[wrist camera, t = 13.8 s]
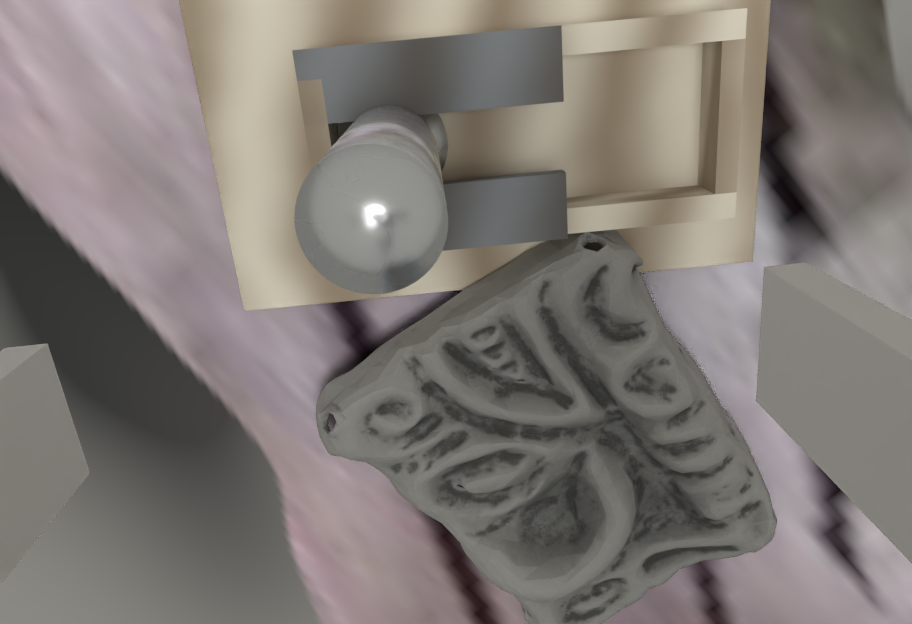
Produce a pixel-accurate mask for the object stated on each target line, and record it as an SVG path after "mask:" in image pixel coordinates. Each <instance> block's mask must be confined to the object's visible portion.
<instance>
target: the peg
mask: <svg viewBox="0 0 912 624" xmlns="http://www.w3.org/2000/svg"><path fill="white" fill-rule="evenodd" d="M447 151H448V141H447V134H446V131H445V127H444V124H443V122H442V119H441V117H440V115H439V114H427V115H417V114H416V113H414V112H413V111H411V110H409V109H406V108H403V107H399V106H393V105H385V106H379V107H375V108H372V109H370V110H368V111H366V112H365V113H363V114H361V115H360V116H359V117H358V118H357V119H356V120H355V121H353V122H342V123H341V126H340V129H339V134H338V140H337V142H336V143H335V144H334V145H333V146H332V147H331V148H330V150H329V151H328V152H327V153H326V154H325V155H324V157H323V158H322V159H321V160H320V161H319V162H318V163H317V165H316V166H315V167H314V168H313V169H312V170H311V171H310V173H309V174H308V176H307V177H306V178H305V180H304V182H303V184H302V186H301V188H300V190H299V193H298V196H297V199H296V205H295V215H294V221H295V230H296V234H297V238H298V241H299V244H300V246H301V249H302V251H303V252H304V254H305V256H306V258H307V259H308V260H309V262H310V263H311V265H312V266H313V267H314V268H315V269H316V270H317V271H318V272H319V273H320V274H321V275H322V276H323V277H325V278H326V279H327V280H329V281H330V282H332V283H333V284H335V285H337V286H339V287H341V288H344V289H347V290H349V291H353V292H357V293H362V294H385V293H391V292H394V291H398V290H401V289H403V288H405V287H408V286H410V285H411V284H413V283H415V282H416V281H418V280H419V279H420V278H422V277H423V276H424V275H425V274H426V273H427V272H428V271H429V270H430V269H431V268H432V267H433V265H434V264H435V263H436V261H437V260H438V258H439V256H440V254H441V252H442V250H443V247H444V245H445V241H446V237H447V232H448V212H447V205H446V199H445V192H444V186H443V179H442V173H441V172H442V170H443V168H444V165H445V162H446V158H447Z"/></svg>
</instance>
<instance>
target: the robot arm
mask: <svg viewBox="0 0 912 624" xmlns="http://www.w3.org/2000/svg"><path fill="white" fill-rule="evenodd" d="M756 401H757V402H758V403H759V404H760V405H761V406H762V408H763V409H764V410H765V411H766V412H767V413H768V414H769V415H770V416H771V417H772V418H773V419H774V420H775V421H776V422H777V423H778V424H779V425H780V426H781V427H782V428H783V429H784V430H785V432H786V433H787V434H788V435H789V436H790V437H791V438H792V439H793V440H794V441H795V442H796V443H797V444H798V445H799V446H800V447H801V448H802V449H803V450H804V451H805V452H806V453H807V455H808V456H809V457H810V458H811V459H812V460H813V461H814V462H815V463H816V464H817V465H818V466H819V467H820V468H821V469H822V470H823V471H824V472H825V473H826V474H827V475H828V476H829V477H830V479H831V480H832V481H833V482H834V483H835V484H836V485H837V486H838V487H839V488H840V489H841V490H842V491H843V492H844V493H845V494H846V495H847V496H848V497H849V498H850V499H851V500H852V502H853V503H854V504H855V505H856V506H857V507H858V508H859V509H860V510H861V511H862V512H863V513H864V514H865V515H866V516H867V517H868V518H869V519H870V520H871V521H872V522H873V523H874V524H875V526H876V527H877V528H878V529H879V530H880V531H881V532H882V533H883V534H884V535H885V536H886V537H887V538H888V539H889V540H890V541H891V542H892V543H893V544H894V545H895V546H896V547H897V549H898V550H899V551H900V552H901V553H902V554H903V555H904V556H905V557H906V558H907V559H908V560H909V561H910V562H911V563H912V321H911V320H910V319H908V318H906V317H904V316H902V315H900V314H899V313H897V312H895V311H893V310H891V309H889V308H888V307H886V306H884V305H882V304H880V303H878V302H877V301H875V300H873V299H871V298H869V297H868V296H866V295H864V294H862V293H860V292H858V291H857V290H855V289H853V288H851V287H849V286H847V285H846V284H844V283H842V282H840V281H838V280H836V279H835V278H833V277H831V276H829V275H827V274H826V273H824V272H822V271H820V270H818V269H816V268H815V267H813V266H811V265H809V264H807V263H797V264H787V265H778V266H769V267H764V276H763V293H762V310H761V327H760V344H759V361H758V378H757V395H756ZM88 475H89V469H88V466H87V463H86V460H85V457H84V454H83V451H82V448H81V445H80V442H79V439H78V436H77V433H76V429H75V426H74V423H73V420H72V417H71V414H70V411H69V408H68V405H67V402H66V399H65V396H64V393H63V390H62V387H61V384H60V381H59V378H58V375H57V372H56V369H55V365H54V363H53V359H52V356H51V353H50V350H49V347H48V344H39V345H31V346H20V347H11V348H5V349H3V350H2V351H0V585H1V584H2V583H3V582H4V580H5V579H6V578H7V577H8V575H9V574H10V573H11V572H12V570H13V569H14V568H15V566H16V565H17V564H18V563H19V561H20V560H21V559H22V558H23V556H24V555H25V554H26V552H27V551H28V550H29V549H30V548H31V546H32V545H33V544H34V542H35V541H36V540H37V539H38V538H39V536H40V535H41V534H42V532H43V531H44V530H45V529H46V527H47V526H48V525H49V524H50V522H51V521H52V520H53V519H54V517H55V516H56V515H57V514H58V512H59V511H60V510H61V509H62V507H63V506H64V504H66V502H67V501H68V500H69V498H70V497H71V496H72V495H73V494H74V492H75V491H76V490H77V488H78V487H79V486H80V485H81V483H82V482H83V481H84V480H85V478H86V477H87V476H88Z"/></svg>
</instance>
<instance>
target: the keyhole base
mask: <svg viewBox="0 0 912 624" xmlns="http://www.w3.org/2000/svg"><path fill="white" fill-rule="evenodd" d="M770 2H771V0H179V3H180V8H181V12H182V17H183V22H184V27H185V31H186V36H187V41H188V46H189V50H190V55H191V60H192V65H193V70H194V74H195V79H196V84H197V89H198V93H199V98H200V103H201V108H202V112H203V117H204V122H205V127H206V131H207V136H208V141H209V146H210V150H211V155H212V160H213V165H214V169H215V174H216V179H217V184H218V189H219V193H220V198H221V203H222V208H223V212H224V217H225V222H226V227H227V231H228V236H229V241H230V246H231V250H232V255H233V260H234V265H235V269H236V274H237V279H238V284H239V288H240V293H241V298H242V303H243V308H244V311H250V310H260V309H270V308H281V307H291V306H301V305H311V304H322V303H332V302H342V301H352V300H363V299H373V298H383V297H393V296H404V295H414V294H424V293H434V292H445V291H455V290H464V289H465V288H467V287H469V286H471V285H473V284H475V283H477V282H479V281H480V280H482V279H484V278H485V277H487V276H488V275H490V274H492V273H493V272H495V271H497V270H499V269H501V268H503V267H504V266H506V265H508V264H510V263H511V262H512V261H514V260H515V259H517V258H518V257H519V256H521V255H522V254H524V253H526V252H527V251H529V250H531V249H533V248H535V247H537V246H539V245H541V244H543V243H545V242H547V241H550V240H560V239H568V234H573V233H583V232H593V231H604V230H616V231H618V232H619V234H620V235H621V236H622V238H623V239H624V240H625V241H626V242H627V243H628V244H629V246H630V247H631V248H632V249H633V250H634V251H635V252H636V253H637V254H638V255H639V256H640V257H641V258H642V259H643V265H641V266H638V267H636V269H637V271H638V272H639V273H640V272H650V271H660V270H671V269H681V268H691V267H701V266H712V265H722V264H732V263H742V262H753V250H754V236H755V221H756V206H757V192H758V177H759V163H760V148H761V134H762V119H763V104H764V90H765V75H766V61H767V46H768V32H769V17H770ZM385 105H393V106H399V107H403V108H406V109H409V110H411V111H413V112H414V113H416V114H417V115H427V114H439V115H440V117H441V119H442V122H443V124H444V127H445V131H446V134H447V141H448V151H447V158H446V162H445V165H444V168H443V170H442V172H441V173H442V179H443V186H444V192H445V199H446V205H447V212H448V232H447V237H446V241H445V245H444V247H443V250H442V252H441V254H440V256H439V258H438V260H437V261H436V263H435V264H434V265H433V267H432V268H431V269H430V270H429V271H428V272H427V273H426V274H425V275H424V276H423V277H422V278H420V279H419V280H418V281H416V282H415V283H413V284H411V285H410V286H408V287H405V288H403V289H401V290H398V291H394V292H391V293H385V294H362V293H357V292H353V291H349V290H347V289H344V288H341V287H339V286H337V285H335V284H333V283H332V282H330V281H329V280H327V279H326V278H325V277H323V276H322V275H321V274H320V273H319V272H318V271H317V270H316V269H315V268H314V267H313V266H312V265H311V263H310V262H309V260H308V259H307V258H306V256H305V254H304V252H303V251H302V249H301V246H300V244H299V241H298V238H297V234H296V230H295V221H294V215H295V205H296V199H297V196H298V193H299V190H300V188H301V186H302V184H303V182H304V180H305V178H306V177H307V176H308V174H309V173H310V171H311V170H312V169H313V168H314V167H315V166H316V165H317V163H318V162H319V161H320V160H321V159H322V158H323V157H324V155H325V154H326V153H327V152H328V151H329V150H330V148H331V147H332V146H333V145H334V144H335V143H336V142H337V140H338V134H339V129H340V126H341V123H342V122H353V121H355V120H356V119H357V118H358V117H359V116H360V115H361V114H363V113H365V112H366V111H368V110H370V109H372V108H375V107H379V106H385ZM584 248H586V249H588V250H593V251H599V250H601V249H602V247H601V245H599V242H596V243H591V244H586V245H584Z"/></svg>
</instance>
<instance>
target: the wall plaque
mask: <svg viewBox="0 0 912 624" xmlns="http://www.w3.org/2000/svg"><path fill="white" fill-rule="evenodd" d="M596 242H599V245H601V247H602V249H601V250H599V251H593V250H588V249H586V248H584V245H586V244H591V243H596ZM641 265H643V259H642V258H641V257H640V256H639V255H638V254H637V253H636V252H635V251H634V250H633V249H632V248H631V247H630V246H629V244H628V243H627V242H626V241H625V240H624V239H623V238H622V236H621V235H620V234H619V232H618V231H616V230H604V231H593V232H583V233H573V234H568V239H560V240H550V241H547V242H545V243H543V244H541V245H539V246H537V247H535V248H533V249H531V250H529V251H527V252H526V253H524V254H522V255H521V256H519V257H518V258H517V259H515V260H514V261H512V262H511V263H510V264H508V265H506V266H504V267H503V268H501V269H499V270H497V271H495V272H493V273H492V274H490V275H488V276H487V277H485V278H484V279H482V280H480V281H479V282H477V283H475V284H473V285H471V286H469V287H467V288H465V289H464V290H463V291H461V292H460V293H459V294H457V295H456V296H454V297H453V298H451V299H450V300H448V301H447V302H446V303H444V304H443V305H441V306H440V307H438V308H437V309H436V310H434V311H433V312H431V313H430V314H428V315H427V316H426V317H424V318H423V319H421V320H419V321H418V322H416V323H414V324H413V325H411V326H409V327H408V328H406V329H405V330H403V331H402V332H400V333H399V334H397V335H396V336H394V337H393V338H391V339H390V340H388V341H387V342H385V343H384V344H382V345H381V346H380V347H378V348H377V349H376V350H375V351H373V352H372V353H371V354H370V355H369V356H368V357H367V358H366V359H365V360H364V361H362V362H361V363H360V364H359V365H357V366H356V367H355V368H353V369H352V370H351V371H349V372H347V373H345V374H343V375H341V376H338V377H336V378H334V379H333V380H331V381H330V382H329V383H328V384H327V385H326V386H325V388H324V389H323V390H322V392H321V394H320V397H319V399H318V402H317V406H316V420H317V427H318V431H319V435H320V438H321V440H322V442H323V444H324V446H325V448H326V449H327V451H328V452H329V453H330V454H331V455H334V456H341V457H344V458H347V459H350V460H356V461H362V462H366V463H368V464H370V465H372V466H374V467H375V468H377V469H378V470H380V471H381V472H382V473H383V474H384V475H386V476H387V477H388V478H389V479H390V481H391V482H392V484H393V486H394V487H395V489H396V490H397V492H398V493H399V494H400V495H401V496H403V497H404V498H405V499H407V500H408V501H409V502H411V503H412V504H413V505H414V506H415V507H416V508H418V509H419V510H421V511H422V512H424V513H425V514H427V515H429V516H430V517H432V518H434V519H435V520H437V521H439V522H441V523H442V524H443V525H444V526H445V527H446V528H447V529H448V530H449V531H450V532H451V533H452V534H453V535H454V536H455V538H456V539H457V540H458V541H459V542H460V543H461V546H462V548H463V550H464V552H465V553H466V555H467V556H468V557H469V558H470V560H471V561H472V562H473V563H474V564H475V565H476V567H477V568H478V569H479V570H480V571H481V572H482V574H483V575H484V576H485V578H486V579H487V580H488V581H490V582H491V583H493V584H494V585H496V586H497V587H499V588H500V589H502V590H504V591H507V592H509V593H511V594H513V595H514V596H515V597H516V598H517V599H518V600H519V601H520V602H521V604H522V606H523V608H524V616H525V620H526V621H527V622H528V623H529V624H601V623H602V622H604V621H605V620H606V619H608V618H609V617H611V616H612V615H614V614H615V613H617V612H618V611H620V610H621V609H623V608H625V607H627V606H628V605H630V604H632V603H634V602H636V601H637V600H639V599H640V598H641V597H642V596H643V595H644V594H645V593H646V592H647V591H648V590H649V589H651V588H653V587H656V586H658V585H660V584H663V583H665V582H666V581H667V580H668V579H669V578H670V577H672V576H673V575H674V574H675V573H676V572H677V571H678V570H679V569H681V568H684V567H687V566H689V565H692V564H694V563H697V562H700V561H702V560H713V559H722V558H729V557H735V556H739V555H742V554H745V553H748V552H756V551H758V550H760V549H762V548H763V547H764V546H765V545H766V544H767V543H769V542H770V541H771V540H772V538H773V536H774V533H775V528H776V524H777V519H776V516H775V513H774V511H773V508H772V504H771V500H770V495H769V492H768V490H767V488H766V486H765V484H764V481H763V479H762V477H761V475H760V472H759V470H758V468H757V466H756V463H755V461H754V459H753V457H752V455H751V453H750V450H749V448H748V445H747V443H746V442H745V440H744V438H743V436H742V435H741V433H740V431H739V430H738V428H737V426H736V424H735V423H734V421H733V419H732V418H730V417H728V416H727V415H726V414H725V412H724V411H723V409H722V407H721V405H720V403H719V402H718V400H717V398H716V396H715V394H714V392H713V391H712V389H711V387H710V385H709V384H708V382H707V380H706V378H705V377H704V375H703V373H702V372H701V370H700V369H699V367H698V366H697V364H696V363H695V362H694V360H693V359H692V357H691V356H690V354H689V353H688V352H687V351H686V350H685V349H684V348H683V347H682V346H681V345H680V344H679V343H678V342H677V341H676V340H675V338H674V337H673V335H672V334H671V333H670V332H669V331H668V330H667V329H666V327H665V325H664V323H663V321H662V319H661V317H660V315H659V313H658V311H657V309H656V307H655V304H654V302H653V300H652V297H651V295H650V293H649V291H648V289H647V286H646V284H645V282H644V280H643V278H642V277H641V275H640V274H639V272H638V271H637V269H636V267H638V266H641ZM521 380H524V381H521ZM330 414H332V415H333V416H334V418H335V421H336V423H335V425H334V426H333V428H332V429H331V430H330V429H329V426H328V418H329V416H330Z"/></svg>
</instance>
